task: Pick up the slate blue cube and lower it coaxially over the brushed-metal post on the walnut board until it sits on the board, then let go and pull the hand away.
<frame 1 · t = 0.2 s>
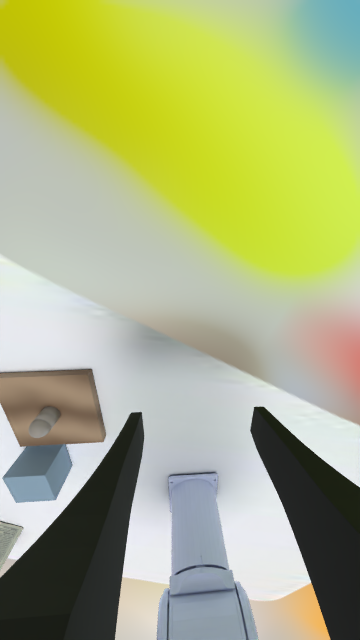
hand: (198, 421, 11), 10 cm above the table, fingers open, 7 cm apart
slate blue cube: (51, 455, 25), on the table
board: (56, 406, 22), on the table
skincare box: (4, 526, 31), on the table
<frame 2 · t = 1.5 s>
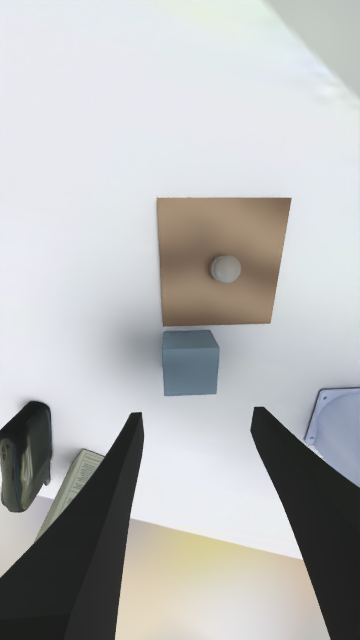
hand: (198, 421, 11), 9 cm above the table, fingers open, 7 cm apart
slate blue cube: (187, 351, 20), on the table
mobile phone: (44, 441, 24), on the table
board: (218, 268, 17), on the table
skincare box: (98, 462, 25), on the table
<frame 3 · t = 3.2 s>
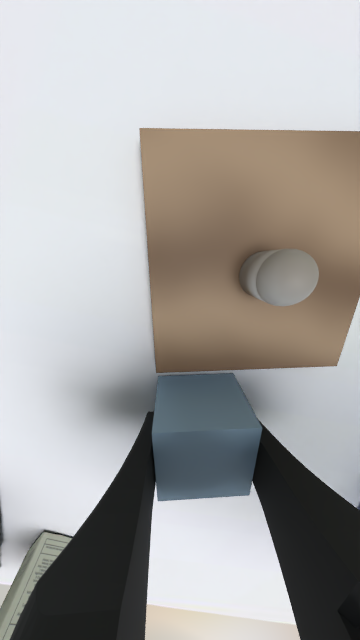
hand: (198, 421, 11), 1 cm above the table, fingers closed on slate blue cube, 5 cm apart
slate blue cube: (195, 404, 12), on the table, touching gripper
board: (252, 273, 9), on the table
skincare box: (68, 543, 18), on the table
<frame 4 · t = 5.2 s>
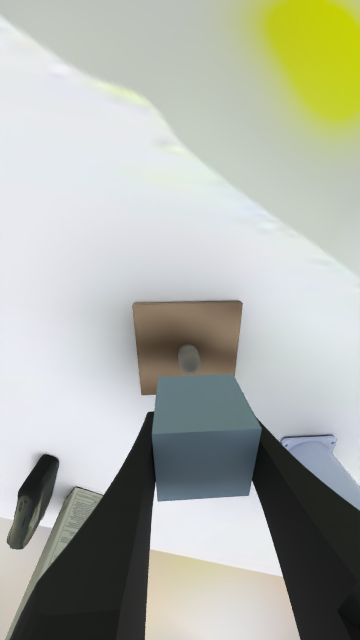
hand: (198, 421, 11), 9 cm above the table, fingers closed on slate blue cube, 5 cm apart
slate blue cube: (195, 404, 12), point 8 cm above the table, touching gripper
mobile phone: (46, 483, 27), on the table
board: (187, 348, 20), on the table
skincare box: (89, 497, 28), on the table
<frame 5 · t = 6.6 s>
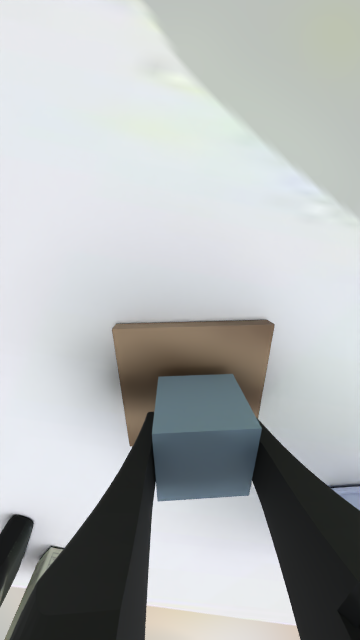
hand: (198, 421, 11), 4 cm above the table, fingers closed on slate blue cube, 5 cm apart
slate blue cube: (195, 404, 12), point 2 cm above the table, touching gripper
mobile phone: (17, 543, 22), on the table
board: (192, 383, 14), on the table
skincare box: (69, 555, 23), on the table
when the fingers open (3 cm above the table, at t = 7.6 s): slate blue cube stays where it is, resting on board.
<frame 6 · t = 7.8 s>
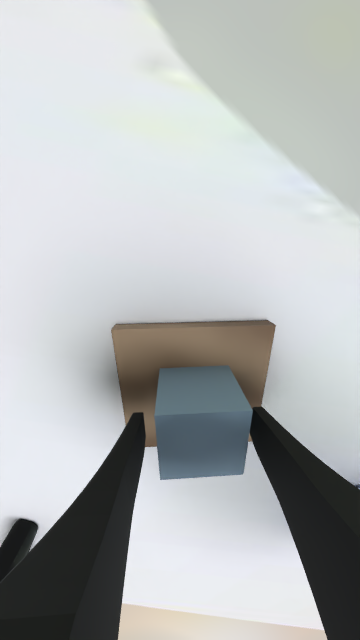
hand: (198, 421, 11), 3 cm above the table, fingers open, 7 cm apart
slate blue cube: (194, 394, 13), point 1 cm above the table, touching board
mobile phone: (18, 546, 22), on the table
board: (192, 385, 14), on the table
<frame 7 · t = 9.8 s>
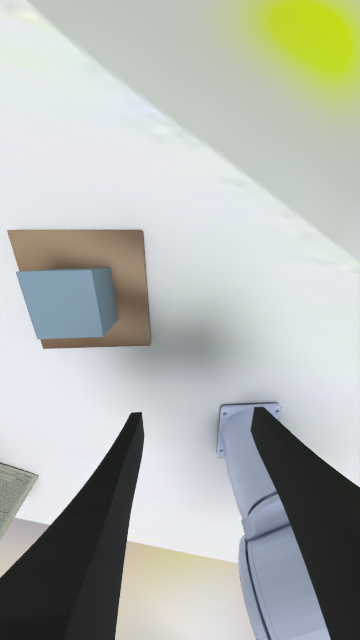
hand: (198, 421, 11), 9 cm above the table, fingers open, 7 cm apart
slate blue cube: (87, 295, 16), point 1 cm above the table, touching board
board: (92, 293, 17), on the table
skincare box: (15, 474, 26), on the table
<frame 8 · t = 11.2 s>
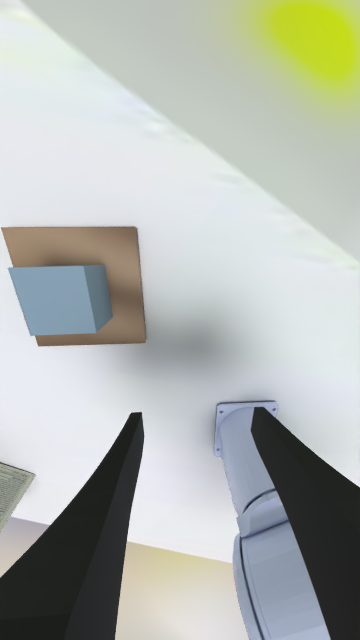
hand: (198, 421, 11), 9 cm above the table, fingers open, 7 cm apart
slate blue cube: (82, 293, 16), point 1 cm above the table, touching board
board: (86, 290, 17), on the table
skincare box: (12, 473, 26), on the table
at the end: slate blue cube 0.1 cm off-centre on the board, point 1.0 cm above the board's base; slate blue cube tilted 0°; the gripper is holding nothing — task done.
